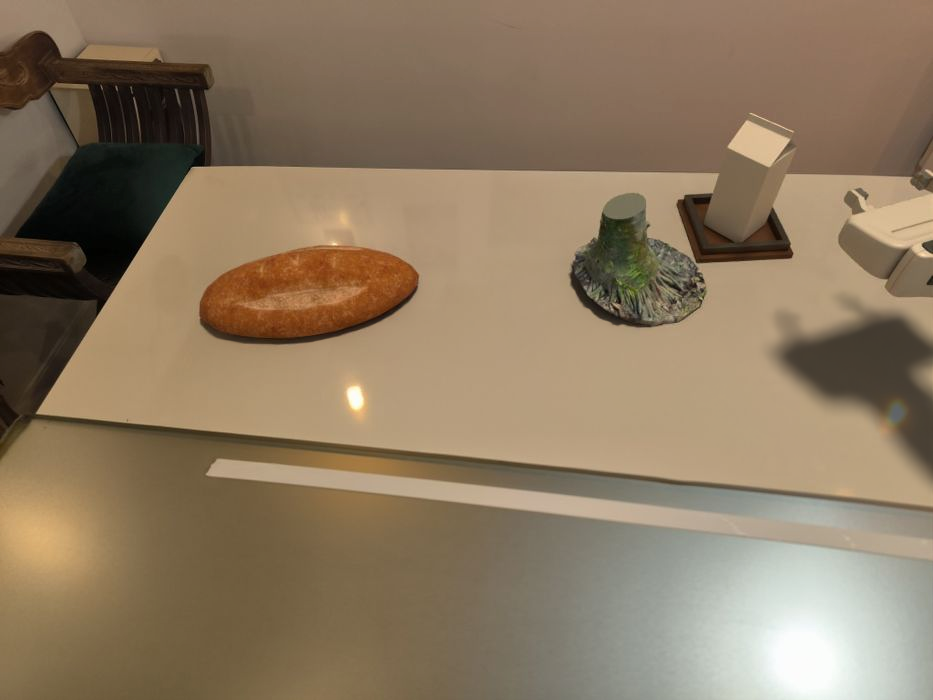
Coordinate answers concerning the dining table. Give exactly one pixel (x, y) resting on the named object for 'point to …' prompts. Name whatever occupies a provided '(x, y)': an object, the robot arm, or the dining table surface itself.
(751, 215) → the milk carton
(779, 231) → the tray
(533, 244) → the dining table surface
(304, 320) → the bread
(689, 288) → the tree stump
